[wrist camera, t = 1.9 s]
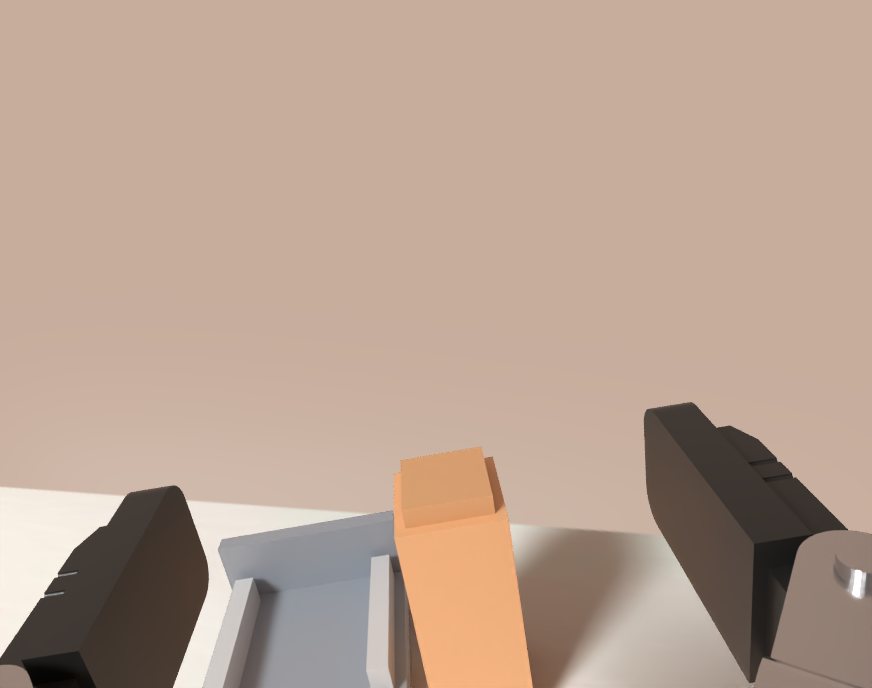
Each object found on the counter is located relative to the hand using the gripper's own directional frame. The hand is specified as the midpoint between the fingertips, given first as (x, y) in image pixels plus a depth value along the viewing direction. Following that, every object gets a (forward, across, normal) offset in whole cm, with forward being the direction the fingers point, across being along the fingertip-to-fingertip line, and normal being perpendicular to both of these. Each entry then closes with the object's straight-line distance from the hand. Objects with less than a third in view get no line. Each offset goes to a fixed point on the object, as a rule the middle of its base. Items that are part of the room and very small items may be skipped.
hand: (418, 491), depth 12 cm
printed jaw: (+11, 0, +18) cm, 21 cm away
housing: (+14, +7, +18) cm, 24 cm away
